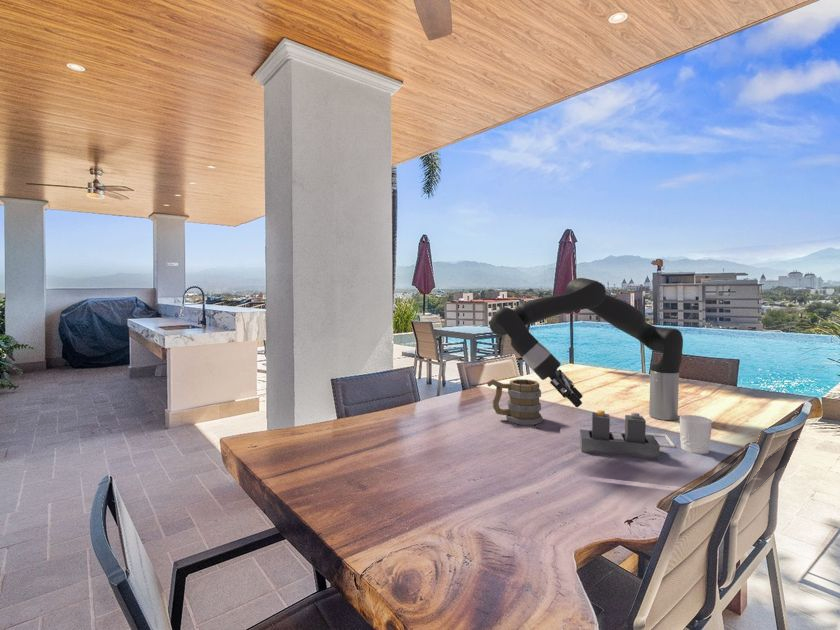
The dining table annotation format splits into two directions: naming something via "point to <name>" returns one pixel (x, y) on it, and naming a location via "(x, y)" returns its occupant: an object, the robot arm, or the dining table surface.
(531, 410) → the tankard
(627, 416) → the twin plug
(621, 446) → the strip
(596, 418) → the plug
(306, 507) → the dining table surface
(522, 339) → the robot arm
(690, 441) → the white cup
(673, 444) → the tray
